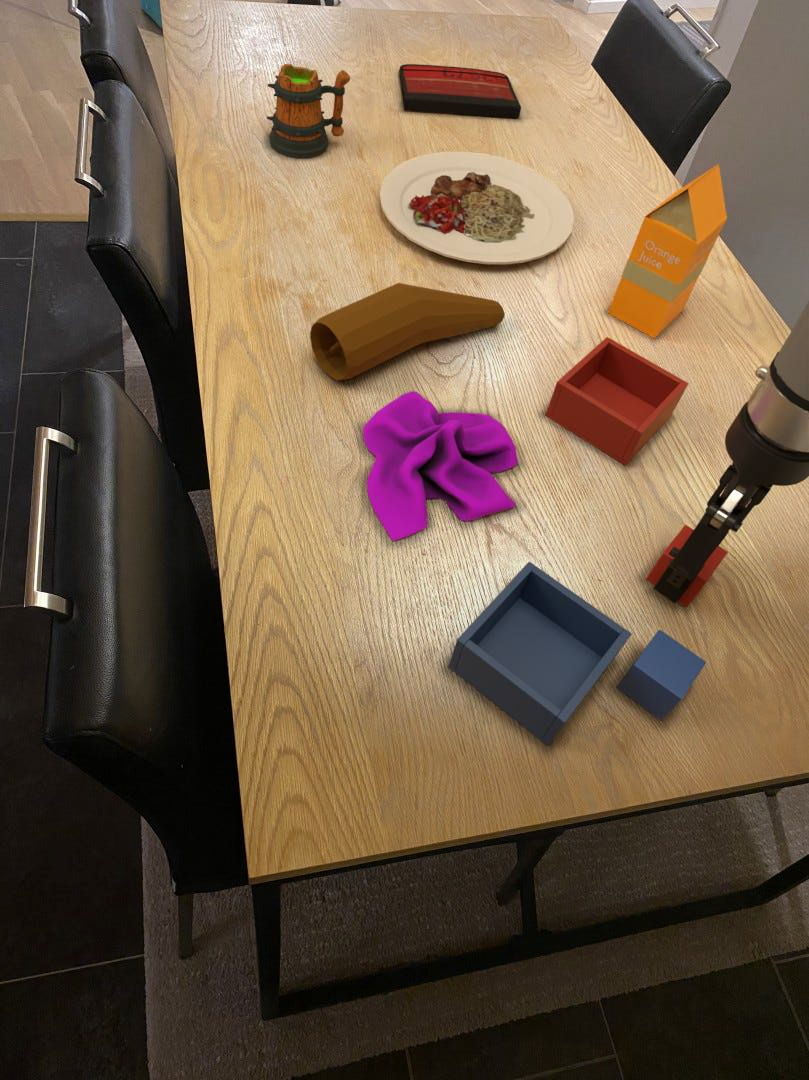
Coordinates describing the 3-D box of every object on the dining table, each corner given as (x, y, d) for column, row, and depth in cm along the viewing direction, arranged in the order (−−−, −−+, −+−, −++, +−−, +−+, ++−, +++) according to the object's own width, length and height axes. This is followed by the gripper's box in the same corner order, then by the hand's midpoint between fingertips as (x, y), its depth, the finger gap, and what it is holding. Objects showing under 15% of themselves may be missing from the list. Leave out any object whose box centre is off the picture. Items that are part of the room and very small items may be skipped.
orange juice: (683, 310, 108) (748, 175, 92) (654, 339, 104) (718, 202, 88) (636, 285, 111) (691, 149, 95) (606, 312, 106) (659, 174, 90)
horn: (486, 335, 105) (343, 409, 94) (448, 271, 104) (300, 338, 93) (517, 308, 98) (366, 385, 87) (475, 239, 97) (318, 308, 86)
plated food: (608, 224, 120) (615, 204, 117) (487, 300, 105) (492, 279, 102) (465, 143, 130) (468, 123, 127) (338, 203, 115) (338, 182, 113)
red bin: (671, 416, 95) (689, 383, 91) (625, 466, 90) (642, 433, 85) (593, 370, 99) (607, 336, 94) (544, 415, 93) (556, 381, 89)
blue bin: (612, 660, 74) (632, 633, 70) (548, 746, 68) (565, 722, 64) (516, 591, 78) (529, 561, 73) (447, 667, 72) (456, 639, 68)
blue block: (685, 684, 74) (707, 661, 69) (661, 721, 71) (682, 699, 67) (640, 653, 75) (659, 628, 71) (615, 687, 73) (633, 664, 69)
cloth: (373, 387, 93) (377, 348, 88) (522, 414, 93) (534, 376, 88) (337, 531, 80) (339, 494, 75) (511, 562, 80) (524, 527, 75)
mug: (266, 157, 121) (262, 79, 112) (269, 125, 127) (266, 49, 117) (347, 163, 122) (351, 87, 113) (347, 131, 128) (350, 56, 119)
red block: (707, 578, 81) (728, 551, 77) (686, 607, 79) (707, 581, 75) (667, 551, 83) (685, 524, 79) (645, 579, 80) (662, 552, 76)
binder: (521, 105, 135) (404, 97, 132) (519, 119, 137) (403, 111, 134) (507, 68, 145) (398, 60, 142) (505, 82, 146) (397, 74, 144)
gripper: (788, 349, 67) (685, 510, 86) (699, 456, 58) (605, 610, 77) (869, 392, 65) (744, 548, 84) (789, 510, 56) (670, 655, 75)
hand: (678, 577), depth 81 cm, fingers closed on red block, 5 cm apart
